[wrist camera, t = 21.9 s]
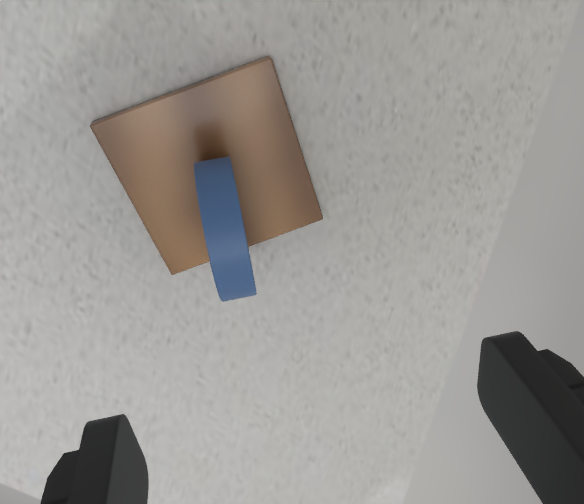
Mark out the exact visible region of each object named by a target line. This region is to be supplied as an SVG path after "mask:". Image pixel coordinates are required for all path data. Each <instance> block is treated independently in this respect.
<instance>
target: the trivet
mask: <svg viewBox="0 0 584 504" xmlns="http://www.w3.org/2000/svg"><path fill="white" fill-rule="evenodd" d="M90 127H91V129H92V131H93V133H94V134H95V136H96V138H97V140H98V142H99V144H100V145H101V147H102V149H103V151H104V153H105V154H106V156H107V158H108V160H109V162H110V164H111V165H112V167H113V169H114V171H115V173H116V174H117V176H118V178H119V180H120V182H121V184H122V185H123V187H124V189H125V191H126V193H127V194H128V196H129V198H130V200H131V202H132V204H133V205H134V207H135V209H136V211H137V213H138V214H139V216H140V218H141V220H142V222H143V224H144V225H145V227H146V229H147V231H148V233H149V234H150V236H151V238H152V240H153V242H154V243H155V245H156V247H157V249H158V251H159V253H160V254H161V256H162V258H163V260H164V262H165V263H166V265H167V267H168V269H169V271H170V273H171V274H172V275H173V274H176V273H179V272H182V271H184V270H187V269H190V268H192V267H195V266H198V265H200V264H203V263H206V262H208V261H210V260H209V255H208V250H207V246H206V241H205V236H204V231H203V226H202V221H201V215H200V210H199V204H198V198H197V191H196V184H195V176H194V163H195V162H200V161H206V160H211V159H217V158H223V157H228V156H229V157H230V158H231V163H232V168H233V173H234V178H235V183H236V188H237V193H238V198H239V203H240V208H241V213H242V218H243V223H244V229H245V234H246V239H247V244H248V247H249V246H251V245H254V244H257V243H260V242H262V241H265V240H268V239H270V238H273V237H276V236H278V235H281V234H284V233H286V232H289V231H292V230H295V229H297V228H300V227H303V226H305V225H308V224H311V223H313V222H316V221H319V220H321V219H323V216H322V213H321V210H320V207H319V204H318V201H317V198H316V195H315V191H314V188H313V185H312V182H311V179H310V176H309V173H308V170H307V167H306V164H305V161H304V157H303V154H302V151H301V148H300V145H299V142H298V139H297V136H296V133H295V130H294V126H293V123H292V120H291V117H290V114H289V111H288V108H287V105H286V102H285V99H284V95H283V92H282V89H281V86H280V83H279V80H278V77H277V74H276V71H275V68H274V65H273V61H272V59H271V57H270V56H266V57H264V58H261V59H258V60H256V61H253V62H250V63H248V64H245V65H242V66H240V67H237V68H234V69H232V70H229V71H226V72H224V73H221V74H218V75H216V76H213V77H210V78H208V79H205V80H202V81H200V82H197V83H194V84H192V85H189V86H186V87H184V88H181V89H178V90H176V91H173V92H170V93H168V94H165V95H162V96H160V97H157V98H154V99H152V100H149V101H146V102H144V103H141V104H138V105H136V106H133V107H130V108H128V109H125V110H122V111H120V112H117V113H114V114H112V115H109V116H107V117H104V118H101V119H99V120H96V121H93V122H92V123H91V125H90Z"/></svg>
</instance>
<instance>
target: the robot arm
mask: <svg viewBox="0 0 584 504" xmlns="http://www.w3.org/2000/svg"><path fill="white" fill-rule="evenodd" d="M477 388H478V395H479V399H480V402H481V404H482V407H483V409H484V411H485V413H486V415H487V416H488V418H489V419H490V421H491V422H492V424H493V426H494V427H495V429H496V430H497V432H498V433H499V435H500V437H501V438H502V440H503V441H504V443H505V445H506V446H507V448H508V449H509V451H510V452H511V454H512V456H513V457H514V459H515V460H516V462H517V464H518V465H519V467H520V468H521V470H522V471H523V473H524V475H525V476H526V478H527V479H528V481H529V483H530V484H531V485H532V487H533V489H534V490H535V492H536V494H537V495H538V497H539V498H540V500H541V501H542V503H543V504H584V377H583V376H582V375H581V374H580V373H579V372H578V370H577V369H576V368H575V367H574V366H573V365H572V364H571V363H570V362H568V361H566V360H565V359H563V358H561V357H560V356H558V355H556V354H555V353H553V352H552V351H550V350H548V349H546V350H541V351H537V350H536V349H535V348H534V347H533V345H532V344H531V343H530V342H529V341H528V340H527V338H526V337H525V336H524V335H523V334H522V333H520V332H518V331H515V332H510V333H505V334H501V335H497V336H492V337H487V338H484V339H483V341H482V344H481V353H480V363H479V373H478V384H477ZM147 499H148V470H147V465H146V461H145V457H144V455H143V453H142V450H141V448H140V446H139V444H138V441H137V439H136V437H135V434H134V432H133V430H132V427H131V425H130V423H129V421H128V419H127V417H126V416H125V415H124V414H122V415H117V416H112V417H108V418H103V419H98V420H93V421H89V422H87V423H86V425H85V427H84V431H83V435H82V439H81V444H80V448H79V450H77V451H72V452H68V453H64V454H63V455H62V457H61V458H60V460H59V461H58V463H57V464H56V466H55V467H54V469H53V470H52V472H51V473H50V475H49V476H48V478H47V482H46V485H45V489H44V493H43V496H42V500H41V504H147Z"/></svg>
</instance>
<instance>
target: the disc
mask: <svg viewBox="0 0 584 504" xmlns="http://www.w3.org/2000/svg"><path fill="white" fill-rule="evenodd" d="M194 176H195V184H196V191H197V198H198V204H199V210H200V215H201V221H202V226H203V231H204V236H205V241H206V246H207V250H208V255H209V260H210V264H211V268H212V272H213V276H214V280H215V284H216V288H217V291H218V294H219V297H220V299H221V301H228V300H233V299H238V298H243V297H248V296H253V295H256V294H257V293H256V287H255V282H254V276H253V271H252V265H251V260H250V255H249V249H248V244H247V239H246V234H245V229H244V223H243V218H242V213H241V208H240V203H239V198H238V193H237V188H236V183H235V178H234V173H233V168H232V163H231V158H230V157H229V156H228V157H223V158H217V159H211V160H206V161H200V162H195V163H194Z"/></svg>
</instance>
